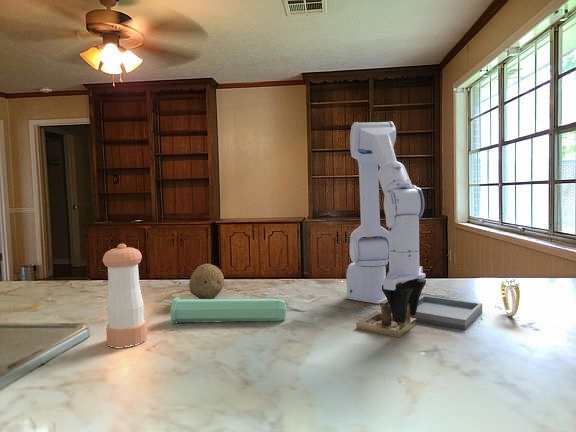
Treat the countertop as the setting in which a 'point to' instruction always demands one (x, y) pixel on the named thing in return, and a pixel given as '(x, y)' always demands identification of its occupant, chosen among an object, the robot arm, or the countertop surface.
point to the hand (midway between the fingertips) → (404, 318)
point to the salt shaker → (124, 298)
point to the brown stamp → (386, 315)
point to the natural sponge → (206, 281)
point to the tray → (447, 312)
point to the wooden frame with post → (395, 332)
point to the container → (227, 310)
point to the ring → (515, 302)
